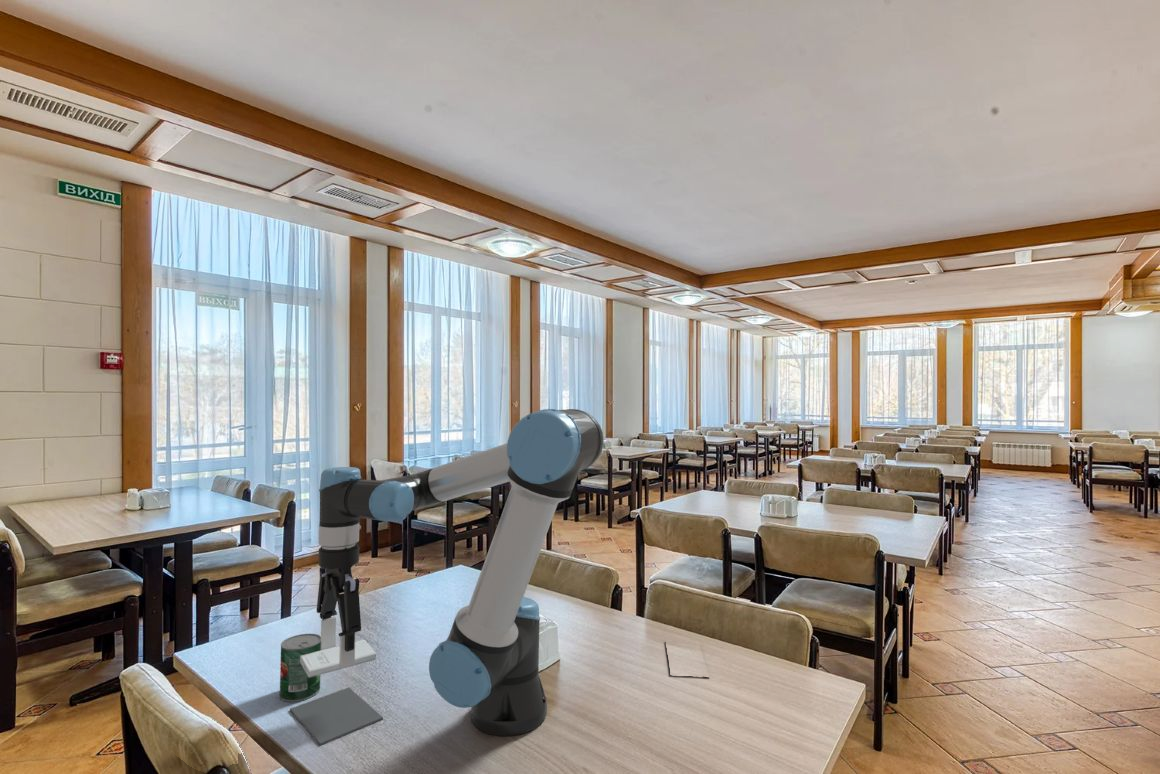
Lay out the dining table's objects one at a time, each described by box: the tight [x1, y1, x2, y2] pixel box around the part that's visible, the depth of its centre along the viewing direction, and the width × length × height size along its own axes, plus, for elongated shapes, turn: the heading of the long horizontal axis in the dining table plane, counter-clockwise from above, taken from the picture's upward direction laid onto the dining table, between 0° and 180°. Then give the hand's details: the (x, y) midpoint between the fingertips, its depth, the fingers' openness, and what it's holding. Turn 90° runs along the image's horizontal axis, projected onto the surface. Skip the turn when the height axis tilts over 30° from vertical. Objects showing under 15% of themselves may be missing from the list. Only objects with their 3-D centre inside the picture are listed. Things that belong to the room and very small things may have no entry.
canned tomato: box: [279, 633, 321, 703], centre depth 121 cm, size 8×8×11 cm
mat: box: [289, 687, 384, 746], centre depth 112 cm, size 16×12×1 cm
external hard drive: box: [300, 639, 377, 678], centre depth 113 cm, size 2×8×12 cm
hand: (337, 657), depth 113 cm, fingers closed on external hard drive, 9 cm apart
